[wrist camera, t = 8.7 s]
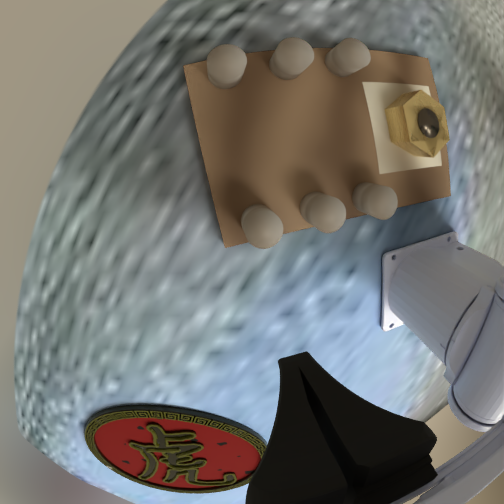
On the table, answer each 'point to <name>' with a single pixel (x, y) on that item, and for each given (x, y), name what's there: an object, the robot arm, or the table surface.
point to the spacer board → (307, 137)
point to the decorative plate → (175, 447)
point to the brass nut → (417, 124)
